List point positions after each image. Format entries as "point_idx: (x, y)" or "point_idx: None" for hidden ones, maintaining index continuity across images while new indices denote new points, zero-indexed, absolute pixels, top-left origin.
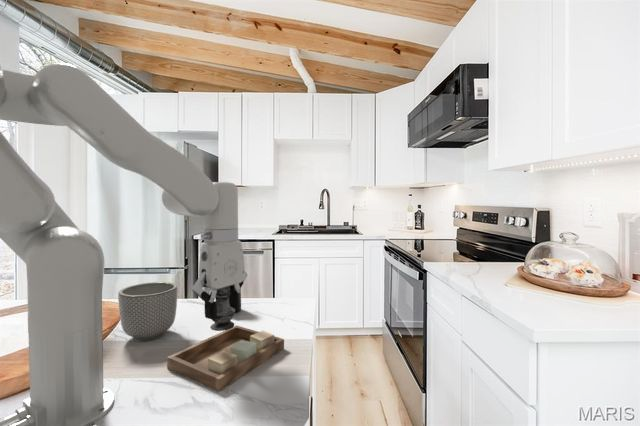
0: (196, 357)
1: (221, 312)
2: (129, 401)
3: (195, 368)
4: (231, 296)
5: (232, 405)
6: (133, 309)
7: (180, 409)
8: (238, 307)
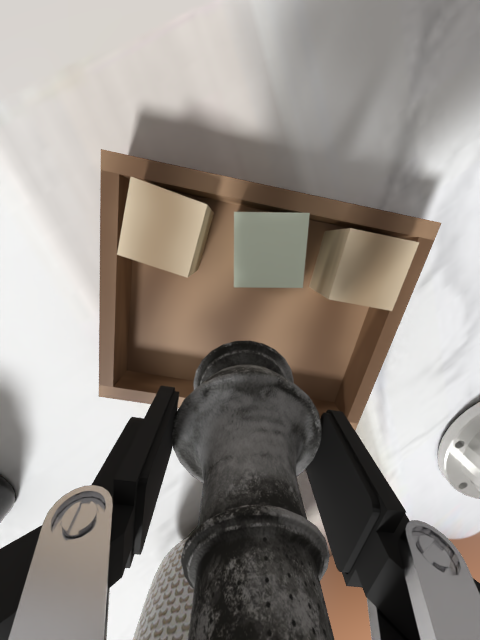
0: None
1: (297, 422)
2: (452, 391)
3: (394, 329)
4: (149, 500)
5: (444, 160)
6: None
7: (469, 277)
8: (159, 392)
